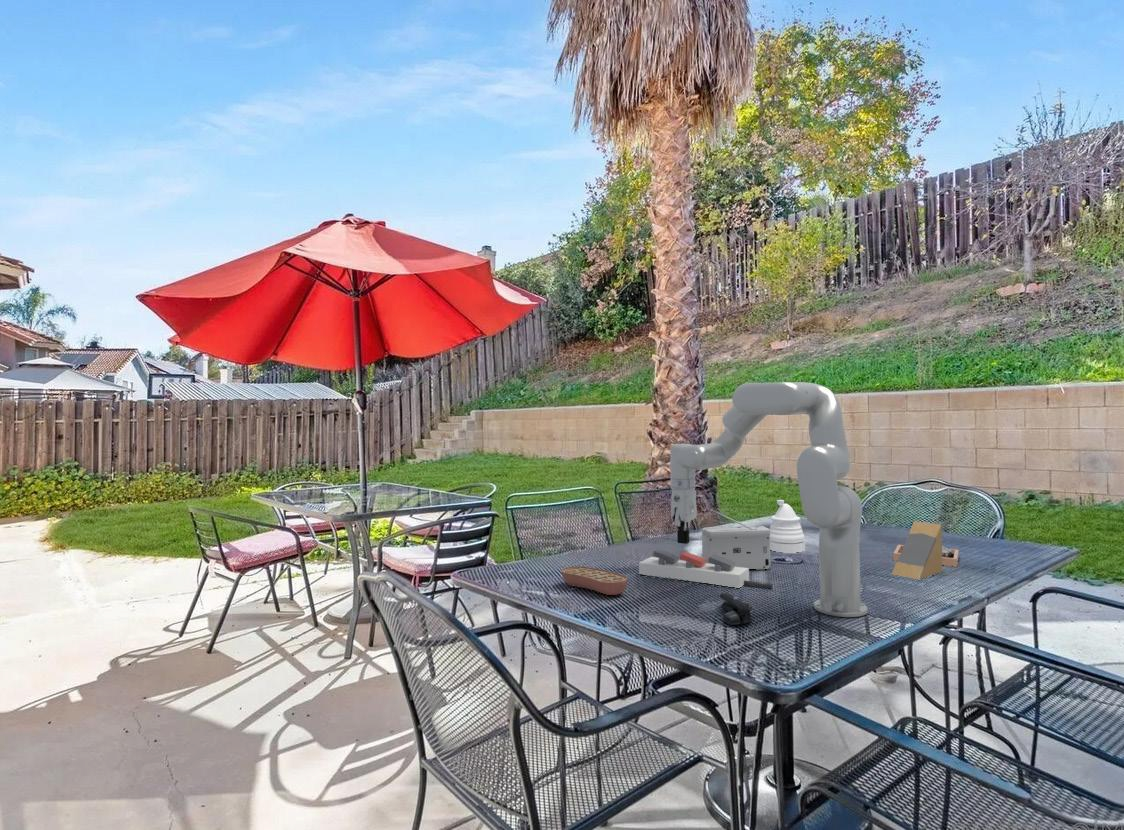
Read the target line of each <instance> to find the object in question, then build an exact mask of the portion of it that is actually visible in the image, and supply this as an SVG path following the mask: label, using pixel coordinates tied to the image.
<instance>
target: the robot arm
mask: <svg viewBox="0 0 1124 830" xmlns="http://www.w3.org/2000/svg"><path fill="white" fill-rule="evenodd" d="M731 401H732V406H731V408H729V409H728V411H727V412H725V413H724V415H723V416H722V424H723V426H724V428H725V429H724V431H723V432H722V433H721V434H720V435H719V436H718V437H717V438H716V439H715V440H714V441H713V442H712V443H711V442H710V443H702V444H690V443H674V444H671V446H670V449H669V450H670V451H669V452H670V458H669V459H670V461H669V463H670V464H669V465H670V468H669V469H670V470H669V471H670V489H671V501H670V518H671V521H672V522H674V526H675V527H676V531H677V532H676V533H677V534H676V535H677V537H676V538H677V541H676V542H677V543H678V544H685V545H687V544H689V543H690V525H691V524H690V523H691V522H692V521H693V520H695V519H696V518H697V515H698V513H697V509H698V508H697V496H696V471H703V470H709V469H714V468H715V469H716V468H720V467H722V466H723V465H725V464H726V463H727V462H728V461H730V459H732V458H733V456H735V455H736V454H737V453H738V452H739V451H740V450H741V447H742V446H743V444H744V442H745V440H746V436H747V435H748V434H750V433H751V431H753V429H754V428H755V427H756V426H757V425H759V423H761V421H763V420H764V418H765V417H767V416H773V415H775V416H792V415H807V416H809V421H808V435H809V439H810V440H809V441H810V446H809V447H807V448H806V449H804V450H803V451H802V452H801V453H800V454H799V456H798V458H797V462H796V475H797V476H796V477H797V482H798V489H799V495H800V501H801V507H802V511H803V514H804V516H805V518H806V520H807V521H808V522H809V524H811V525H812V526H814V527H815V528H818V529H819V533H818V534H819V535H818V537H819V538H818V557H819V559H818V560H819V562H818V563H819V565H818V566H819V599H816V600H815V601H814V602H813V608H814V609H815V611H817V612H819V613H821V614H825V615H827V616H832V617H841V618H858V617H863V616H865V615H867V614H868V612H869V611H868V607H867V606H866V605H865V604H864V603H862V602H861V558H860V556H861V555H860V551H861V550H860V549H861V546H860V545H861V543H860V540H861V539H860V537H861V535H860V533H861V523H862V515H863V505H862V501H861V498H860V496H859V494H858V493H857V492H856V491H855V490H854V489H852V488H850V487H848V486H845V485H838V481H839V480H841V479H844V478H845V477H846V476H847V475H848V474H849V473H850V470H851V460H850V455H849V449H848V442H847V437H846V432H845V427H844V421H843V414H842V413H843V412H842V408H841V404H840V401H839V399H838V397H837V396H836V394H835V393H834V392H833V391H832V390H830V388H828V387H826V386H823V385H821V384H819V383H815V382H814V383H813V382H805V381H799V382H797V381H794V382H793V381H778V382H745V383H741V384H740V385H738V387H736V388H735V390H734V391H733V393H732V397H731Z"/></svg>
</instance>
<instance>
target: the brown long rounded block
mask: <svg viewBox="0 0 1124 830" xmlns="http://www.w3.org/2000/svg"><path fill="white" fill-rule="evenodd" d="M561 576H562V578H563V579H562V580H564V582H565V583H566V584H567V585H569V586H570V585H574V586H579V587H583V588H587V589H586V590H588V589H591V590H590V591H592V590H595V591H597V593H599V592H600V594H601V593H603V594H602V595H604V594H606V595H605V596H607V595H616V596H618V595H620V594H622V593H623V592H624V590H626V587H627V585H628V577H627V576H626V575H624V574H621V573H617V572H613V571H610V570H606V569H602V568H601V569H600V568H595V567H590V566H584V565H581V566H580V565H579V566H578V565H577V566H576V565H575V566H574V565H573V566H567V567H564V568H562V569H561ZM583 588H582V589H583ZM595 591H594V592H595ZM617 594H618V595H617Z"/></svg>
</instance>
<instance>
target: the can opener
mask: <svg viewBox="0 0 1124 830" xmlns="http://www.w3.org/2000/svg"><path fill="white" fill-rule="evenodd" d="M719 597H720V599H722V600H723V601H724V602H722V604H721V607H722V609H724V610H725V611H726V613H723V615H722V618H723V621H724V622H725V623H726V624H727V625H730V626H733V625H740V624H744V625H745V624H748V623H750V622H752V621H753V619H752V614H751V612H752V610H753V605H752V603H746V602H743V601H742V600H741V599H739V597H737V596H734V595H733V594H730V593H726V592H722V593H720V595H719Z"/></svg>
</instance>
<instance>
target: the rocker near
mask: <svg viewBox="0 0 1124 830" xmlns="http://www.w3.org/2000/svg"><path fill="white" fill-rule="evenodd" d="M708 562H709V563H711V564H714V565H719V566H721V567H722V568H724V569H727V570H729V571H730V570H732V569H733V568H734V567H735V562H732V561H730V560H727V559H725V558H722V557H719V556H717V555H714V554H713V555H712V556H710V557H709V559H708Z"/></svg>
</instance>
